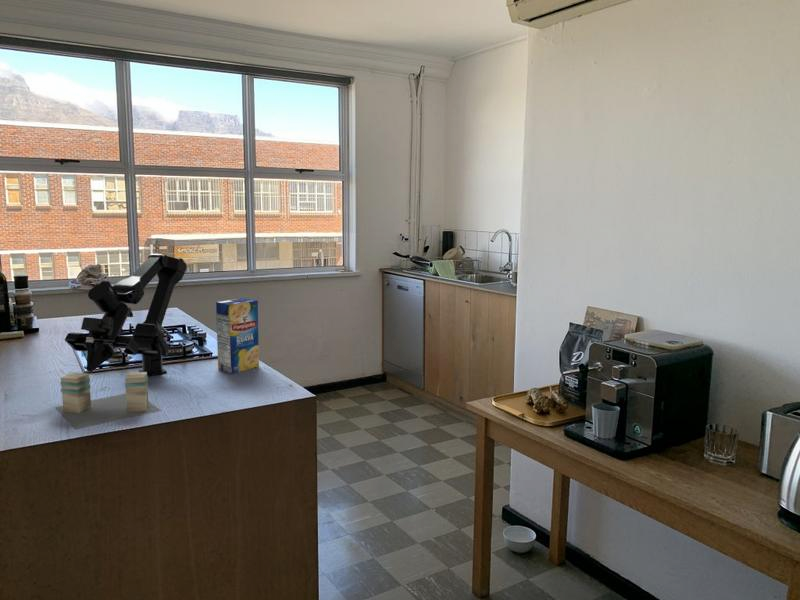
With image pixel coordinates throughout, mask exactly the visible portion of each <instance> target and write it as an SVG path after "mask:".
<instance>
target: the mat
mask: <svg viewBox="0 0 800 600" xmlns="http://www.w3.org/2000/svg"><path fill="white" fill-rule="evenodd" d="M54 408H55V409H56V410H57V411H58V412H59V413H60V414H61V416H63V418H64V419H65V420H66V421H67V422H68V423H69V424H70V425H71V426H72V427H73V428H74V429H75V430H79V429H85V428H89V427H94V426H97V425H102V424H107V423H111V422H116V421H120V420H121V421H122V420H124V419H129V418H133V417H137V416H142V415H143V416H144V415H147V414H151V413H155V412H157V413H158V412H161V411H162V409H160V408H158V406H156V405H155V404H153V403H152V402H150V401H148V407H147V410H146V411H137V412H127V400H126V393H121V394H117V395H110V396H106V397H102V398H97V399H96V398H95V399H91V407H90V408H88V409H86V410H84V411H82V412H80V413H74V412H63V405H60V406H56V407H54Z"/></svg>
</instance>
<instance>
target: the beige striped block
mask: <svg viewBox="0 0 800 600" xmlns="http://www.w3.org/2000/svg"><path fill="white" fill-rule="evenodd" d="M90 382H91V378H90V373H84V372H71V373H69V374H66V375H63V376H61V377H60V386H61V388H60V392H61V399H62V406H63V412H74V413H80V412H82V411H84V410H86V409H88V408H90V407H91V400H92V399H91V398H92V397H91V383H90Z"/></svg>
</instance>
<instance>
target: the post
mask: <svg viewBox="0 0 800 600" xmlns="http://www.w3.org/2000/svg"><path fill="white" fill-rule="evenodd" d="M148 378H149V377H148V376H147V372H139V371H138V372H128V373H127V374H126V376H125V379H124V380H125V382H124V387H125V394H126V400H127V412H137V411H146V410H147V407H148V402H149V392H148V391H149V388H148V387H149V386H148V380H149V379H148Z"/></svg>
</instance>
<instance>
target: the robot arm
mask: <svg viewBox="0 0 800 600" xmlns="http://www.w3.org/2000/svg"><path fill="white" fill-rule="evenodd" d="M187 266H188V265H187V263H186V261H185V260H184V259H183V258H182V257H173V256H169V255H166V254H164V253H151V254H150V253H149V254H148V256H147V259H146V260H145V261H144V262H143V263H142V264H141V265H140V266H139V267H138V268H137V269H136V271H134V272H133V274H132V275H130V276H129V277H127V278H124V279H121V280H119V281H118V282H116V283H115V284H114V285H112V283H111V282H110V281H109V280H101V282H100V283H99V284H96V285H94V286H93V287H92V288H91V289H89V291H88V293H87V295H88V298H89V300H90V301H91V302H92V303H93V304H94V305H95V307H97V309H98V310H99V311H100V312H102V313H103V315H102V317H101V318H98V317H86V316H85V317H83V319H82V322H81V327H80V329H81V330H82V331H87V332H88V333H87V334H88V335H89V336H86V335H85V334H84V333H83V332H73V331H72V332H69V333H67V334H66V336H65V338H64V341H65V342H66V343H67V344H68V345H69V346H70V347H71V349H73V350H74V351H76V352H84V353H85V352H87V359H86V371H87V372H88V373H91V372H93V371H94V370H95V369H97V368H98V367H100V365H102V364H103V363H105V362H107V361H108V360H109V359H111V358H113V357H117V353H116V352H117V350H119V349H124V352H125V354H126V355H128V356H129V355H130V356H136V355H141V361H142V362H141V364H142V369H139V370H138V373H139V372H147V377H150V376H155V375H161V374H162V375H163V374H167V373H168V371H167V370H166V369H165V368H164V367H163V356H165V355H167V354H168V352H169V349H170V345H169V344H168V342H166V340H165V339H164V337H165V333H164V330H163V323H164V319H165V317H166V312H167V310H168V306H169V304H170V301H171V297H172V295H173V292H174V288H175V286H176V285H177V284H178V283H179V282H180V281H182V280H183V279H184V278H183V277H184V276H185V273H186V271H187V268H188V267H187ZM155 276H157V278H158V282H157V284H156V288H155V291H154V293H153V297H152V299H151V303H150V306H149V309H148V311H147V315H146V317H145V319H144V321H143V322H142V323H139V322H138V323H137V324H136V325H135V327H134V331H133V333H132V336H129V335H123V334H124V332H125V330H124V329H123V327H124V325H125V323H126V321H127V318H133V317H134V314H133V310H132V308H131V307H129V306H128V305H138V303H139V302H140V301H141V300H142V299H143V297H144V295H145V289H146V286H147V285H148V284H149V283H150V282H151V281H152V280H153V279H154V277H155Z"/></svg>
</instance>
